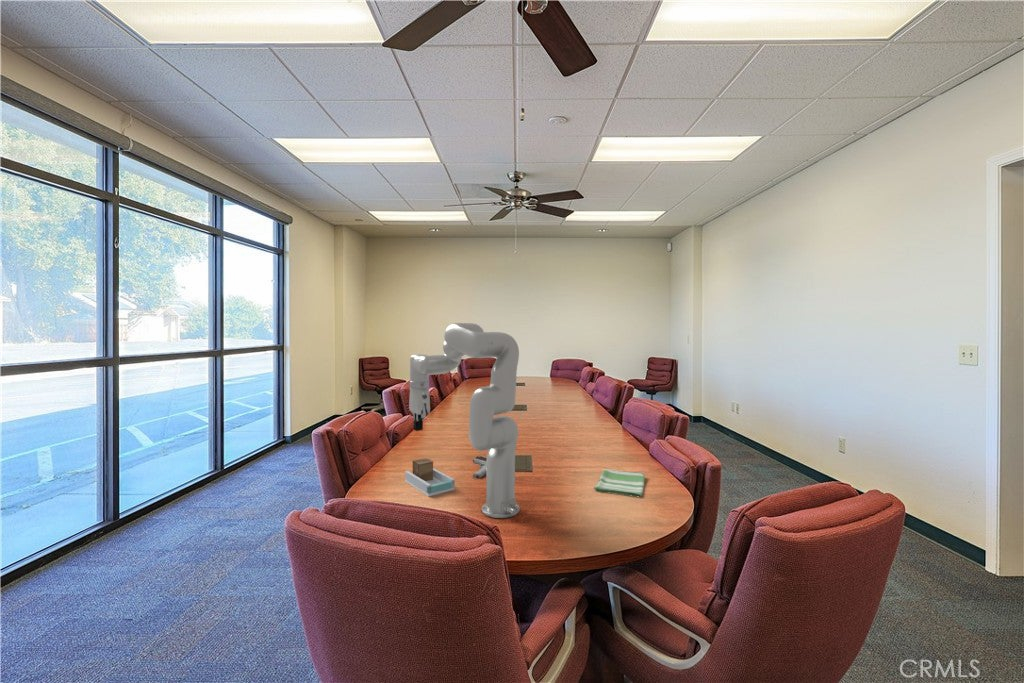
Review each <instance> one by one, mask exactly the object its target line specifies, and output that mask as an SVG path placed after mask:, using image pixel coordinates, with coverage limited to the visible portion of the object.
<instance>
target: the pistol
mask: <svg viewBox="0 0 1024 683" xmlns="http://www.w3.org/2000/svg"><path fill="white" fill-rule="evenodd" d="M472 462H473V463H474V464H477V465H479V466H478V467H479V469H478V470H477V471H476V472H475V473H473V474H472V477H473V478H476V479H481V478H483V477H484V476H486V465H487V456H483V455H477V456H476V457H474V458H473V459H472Z"/></svg>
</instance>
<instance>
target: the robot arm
mask: <svg viewBox="0 0 1024 683" xmlns="http://www.w3.org/2000/svg"><path fill="white" fill-rule="evenodd" d="M443 336H444V337H443V338H444V342H443V344H442V349H443V352H444V354H436V355H434V354H433V355H428V354H423V353H422V354H421V353H417V354H412V355H411V356H410V359H409V400H408V410H409V411H410V412H411V414H412V415H413V416H412V418H413V419H412V420H413V430H414V431H415V432H418V431H423V430H424V420H425V419H426V418H427V415H428V414H430V413H431V400H430V399H431V398H430V391H429V390H430V387H429V386H430V384H429V382H430V376H434V375H443V374H448V373H450V372H452V371H453V370H455V369H456V368H458V367H459V366H460V364H461V362H462V358H463V357H464V356H467V357H469V358H474V359H485V358H487V359H488V358H490V359H491V358H496V360H495V361H494V364H493V365H492V368H491V371H490V383H489V385H487V386H480V387H479V388H477V389H475V390H474V392H473V394H472V395H471V397H470V401H469V416H468V418H469V419H468V422H469V423H468V438H469V442H470V445H471V446H472V448H474V450H477V451H479V452H482V451H487V455H486V457H487V465H486V475H485V476H486V477H485V478H486V480H485V481H486V488H485V490H486V491H485V492H486V494H485V496H486V499H485V500H486V502H485V503H484V504H482V507H481V512H482V514H483V515H485V516H487V517H488V518H489V517H491V518H495V519H506V518H512V517H513V516H516V515H517V514H518V513H519V512H520V509H521V507H520V506H519V505H518V503H517V499H515V498H516V497H515V496H516V495H515V494H516V493H515V489H516V488H515V486H516V477H515V476H516V447H517V442H518V437H519V428H518V427H519V426H518V424H517V422H516V421H515V419H514V418H512V417H510V416H507V415H506V416H505V415H502V414H505V413H509V412H511V411H513V409H514V407H515V406H516V405H515V404H516V394H517V372H518V371H517V370H518V364H519V359H520V348H519V346H518V343H517V341H516V340H515V338H514V337H513V336H512V335H510V334H508V333H507V332H502V331H501V332H500V331H499V332H498V331H489V332H487V331H484V328H482V327H481V326H480V325H478V324H477V323H472V322H467V323H466V322H455V323H451V324H450V325H448V326H447V327H446V329H445V331H444V335H443ZM498 415H499V416H498ZM500 415H502V416H500ZM494 416H495V417H494Z"/></svg>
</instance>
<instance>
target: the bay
mask: <svg viewBox="0 0 1024 683" xmlns="http://www.w3.org/2000/svg"><path fill="white" fill-rule="evenodd" d="M404 481H405V483H407V484H409V485H410V486H411V487H413V488H414V489H416V490H418V491H419V492H421V493H422V494H424V495H425V496H427V497H432V496H436V495H440V494H445V493H448V492H451V491H455V490H456V489H455V481H456V480H455V478H453V477H451V476H449V475H447V474H445V473H443V472H442V471H439V470H437V469H435V468H434V467H433V480H429V481H424V480H422V479H421V478H419V477H417V476H416V475H414V474H413V472H411V471H409V470H405V471H404Z"/></svg>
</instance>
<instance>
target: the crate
mask: <svg viewBox="0 0 1024 683" xmlns="http://www.w3.org/2000/svg"><path fill="white" fill-rule="evenodd" d="M411 463H412V474H414V475H416V476H417V477H419V478H421V479H422V480H424V481H429V480H433V468H434V461H433V460H431V459H429V458H427V457H423V458H420V459H419V458H418V459H415V460H414V459H413V460H412V461H411Z"/></svg>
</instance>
